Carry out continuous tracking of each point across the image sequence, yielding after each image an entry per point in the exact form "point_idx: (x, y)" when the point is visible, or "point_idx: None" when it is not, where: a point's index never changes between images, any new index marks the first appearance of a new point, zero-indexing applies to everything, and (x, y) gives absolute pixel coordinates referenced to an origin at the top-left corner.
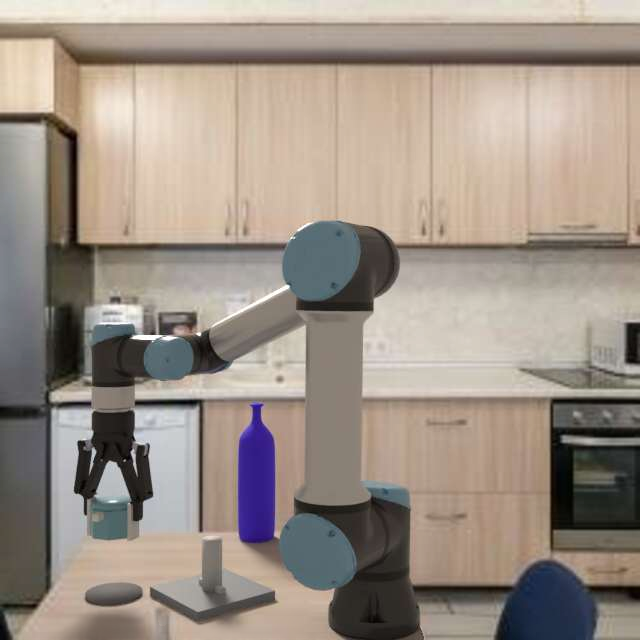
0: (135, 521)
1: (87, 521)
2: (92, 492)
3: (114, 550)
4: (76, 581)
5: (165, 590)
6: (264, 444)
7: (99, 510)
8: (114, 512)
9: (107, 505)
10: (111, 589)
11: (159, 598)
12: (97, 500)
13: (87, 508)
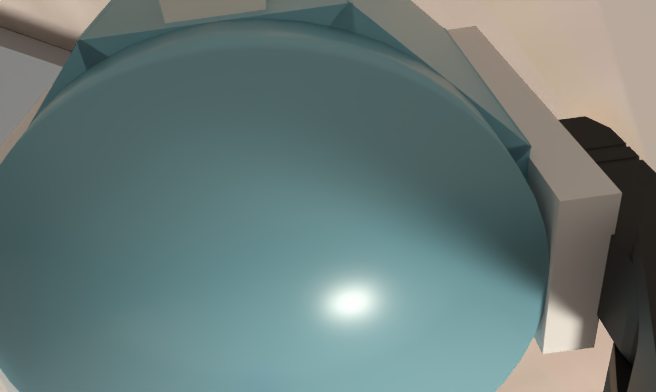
0: None
1: (508, 70)
2: (637, 344)
3: (591, 354)
4: (546, 49)
5: (12, 79)
6: None
7: (239, 20)
8: (45, 98)
9: (114, 103)
10: None
11: (35, 42)
12: (459, 232)
13: (562, 134)
